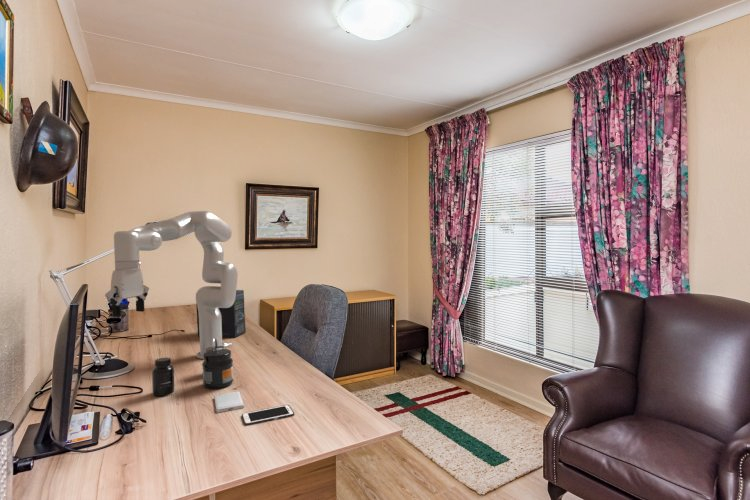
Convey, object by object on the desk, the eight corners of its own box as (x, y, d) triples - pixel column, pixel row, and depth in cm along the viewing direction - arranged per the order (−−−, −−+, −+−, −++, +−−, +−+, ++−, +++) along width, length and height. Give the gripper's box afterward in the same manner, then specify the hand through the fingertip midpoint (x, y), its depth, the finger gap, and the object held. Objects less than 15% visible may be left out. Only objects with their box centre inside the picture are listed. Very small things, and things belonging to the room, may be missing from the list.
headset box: (196, 337, 221) (195, 289, 220) (209, 331, 233) (207, 286, 232) (235, 338, 218) (234, 289, 216) (246, 332, 229) (244, 286, 228)
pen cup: (219, 369, 168) (217, 335, 167) (228, 372, 164) (227, 337, 163) (202, 373, 163) (201, 338, 162) (212, 377, 158) (211, 341, 158)
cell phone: (241, 416, 125) (241, 413, 125) (289, 407, 131) (289, 404, 131) (244, 427, 118) (244, 423, 118) (295, 416, 124) (295, 413, 124)
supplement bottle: (165, 397, 139) (164, 362, 139) (148, 396, 141) (146, 361, 140) (179, 390, 146) (177, 356, 146) (162, 388, 147) (160, 355, 147)
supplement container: (239, 381, 154) (238, 350, 153) (218, 391, 144) (217, 358, 143) (218, 377, 158) (217, 347, 157) (196, 387, 148) (195, 354, 148)
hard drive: (214, 395, 138) (216, 409, 127) (239, 391, 142) (244, 404, 130) (214, 400, 138) (216, 414, 127) (239, 395, 142) (244, 409, 130)
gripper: (138, 264, 155) (140, 309, 155) (96, 267, 138) (98, 318, 139) (155, 264, 153) (156, 309, 153) (114, 268, 136) (116, 319, 137)
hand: (129, 313), depth 146 cm, fingers open, 9 cm apart
